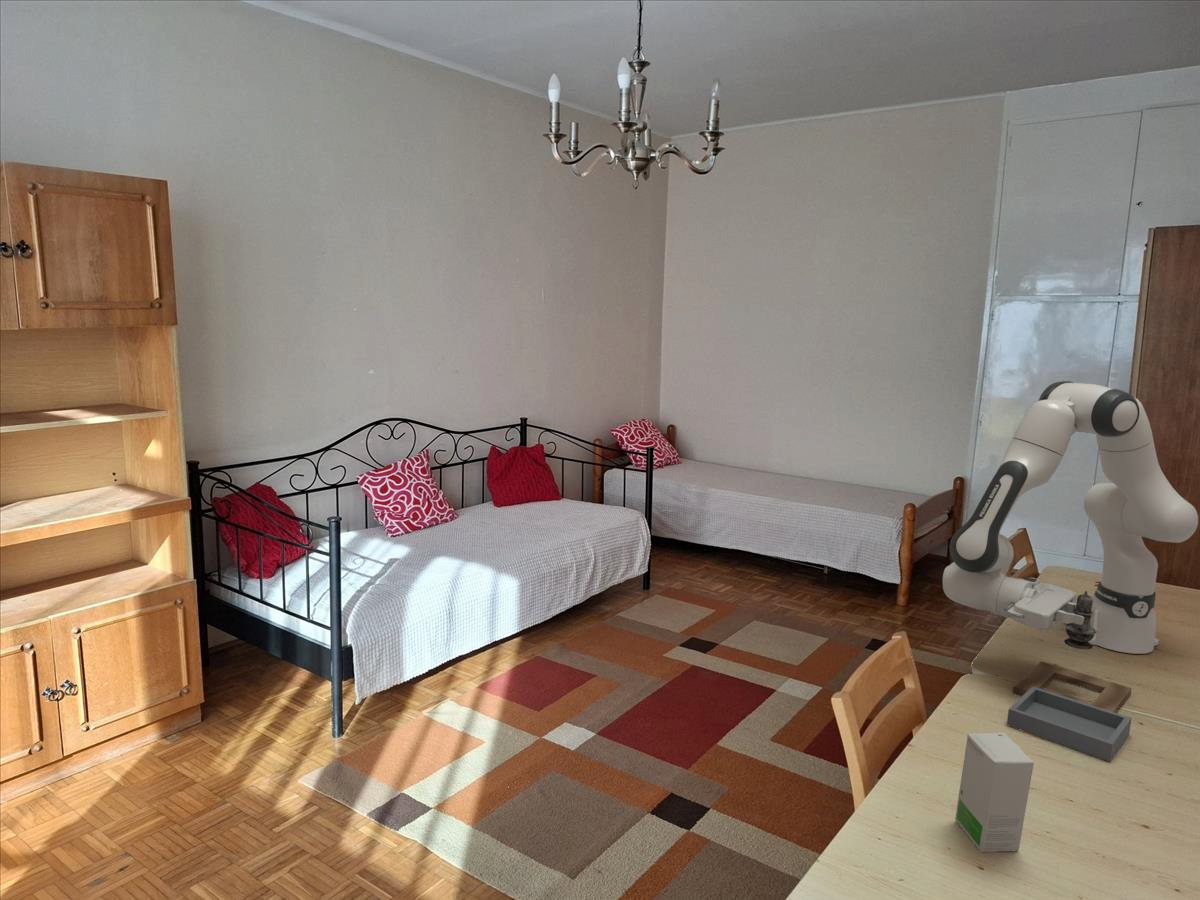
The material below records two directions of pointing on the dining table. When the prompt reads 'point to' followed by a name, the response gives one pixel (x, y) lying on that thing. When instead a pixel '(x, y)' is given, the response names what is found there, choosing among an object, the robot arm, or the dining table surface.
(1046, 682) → the socket block
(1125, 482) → the robot arm
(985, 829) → the skincare box
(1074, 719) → the parts tray
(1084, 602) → the dark piece
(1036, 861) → the dining table surface
